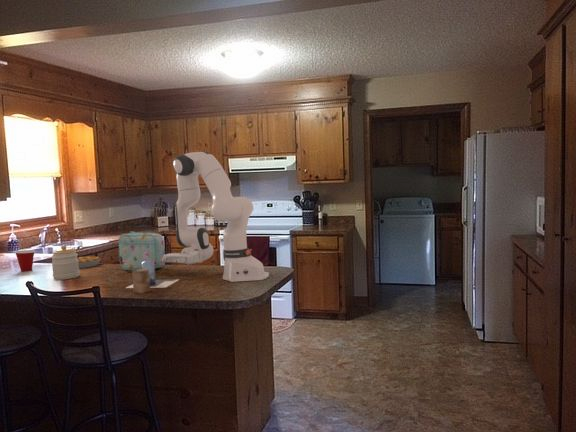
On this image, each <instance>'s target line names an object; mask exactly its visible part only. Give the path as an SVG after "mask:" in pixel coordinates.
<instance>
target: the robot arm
mask: <svg viewBox="0 0 576 432" xmlns="http://www.w3.org/2000/svg"><path fill="white" fill-rule="evenodd" d="M172 167H173V171H174V173H176V185H177V193H178V197H177V200H176V202H175V221H176V237H175V238H176V242H177V244H178V245H179V246H180V247H182V249H181V252H171V253H170V252H169V253H167V254H166V253H165V255H163V259H162V262H165V263H176V264H180V263H181V264H184V265H186V266H189V265H194V264H200V263H203V261H207V260H208V259H210V258H211V257H212V256H213V255H214V246H213V245H212V244H211V243H210V241H211V240H210V239H211V238H210V234H209V231H208V230H207V229H206V228H204V227H189V225H188V223H189V222H188V212H189V211H188V210H189V209H190V208H191V207H193V206H195V205H196V204H197V203H198V202H199V200H200V199H201V196H202V195H201V189H200V187H201V186H200V184H199V176H201V178H202V180H203V182H204V183H205V185H206V187H207V189H208V191H209V194H210V196H211V199H212V205H211V208H210V209H211V212H210V213H211V216H212V217H213V218H214V219H215V220H216V221H219V222H224V223H226V222H227V224H226V228H225V230H224V231H223V235H222V238H223V251H222V254H223V255H222V256H223V261H224V266H223V267H224V268H223V275H222V280H225V281H229V282H230V283H233V282H246V281H247V282H249V281H250V282H251V281H263V280H265V279H268V278H269V277H270V272H269V271H265V267H264V264H263V262H261V261H260V260H259V259H257V258H256V257H254V256H253V255H252V250H253V249H252V248H249V247H248V242H247V230H248V223H249V219H250V216H251V214H252V213H253V210H254V204H253V203H252V200H251V199H249V198H248V197H245V196H233V195H232V191H231V187H232V183H231V182H232V181H231V179H230V178H229V176H228V174H227V173H226V171H225V169H224V168H223V166H222V164H221V163H220V161H218V159H217V158H216V157H215V156H214V155H213V154H212V153H211V152H210V151H204V150H203V151H195V152H187V153H184V154H179V155H177V156H175V157H174V158H173V162H172Z"/></svg>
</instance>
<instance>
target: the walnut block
mask: <svg viewBox="0 0 576 432" xmlns="http://www.w3.org/2000/svg"><path fill="white" fill-rule="evenodd" d="M131 275H132V276H131V277H132V284H133V288H132V290H133V293H135V294H144V293H147V292H151V288H150V280H149V270H148V269H138V270H131Z"/></svg>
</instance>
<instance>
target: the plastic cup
mask: <svg viewBox="0 0 576 432" xmlns="http://www.w3.org/2000/svg"><path fill="white" fill-rule="evenodd" d="M14 253H15V255H16V258H17V263H18V265H19V266H18V267H19V269H20V271H21V272H30V271H32V270H33V265H34V256H35V253H36V250H33V249H28V250H27V249H26V250H15V251H14Z"/></svg>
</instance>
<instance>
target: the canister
mask: <svg viewBox="0 0 576 432" xmlns="http://www.w3.org/2000/svg"><path fill="white" fill-rule="evenodd" d="M142 269H148V270H149V280H150V286H151V285H155V284H156V281H155V280H156V269H154V261H153V260H149V261H143V262H142Z"/></svg>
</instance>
